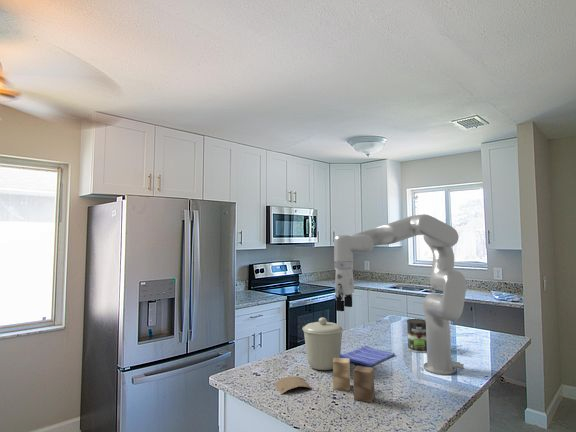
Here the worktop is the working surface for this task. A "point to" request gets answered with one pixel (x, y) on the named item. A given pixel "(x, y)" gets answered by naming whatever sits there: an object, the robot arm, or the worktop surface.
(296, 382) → the clay tablet
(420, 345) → the coffee can
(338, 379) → the oak block
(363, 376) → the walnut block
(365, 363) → the dish towel
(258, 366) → the worktop surface
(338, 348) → the canister
